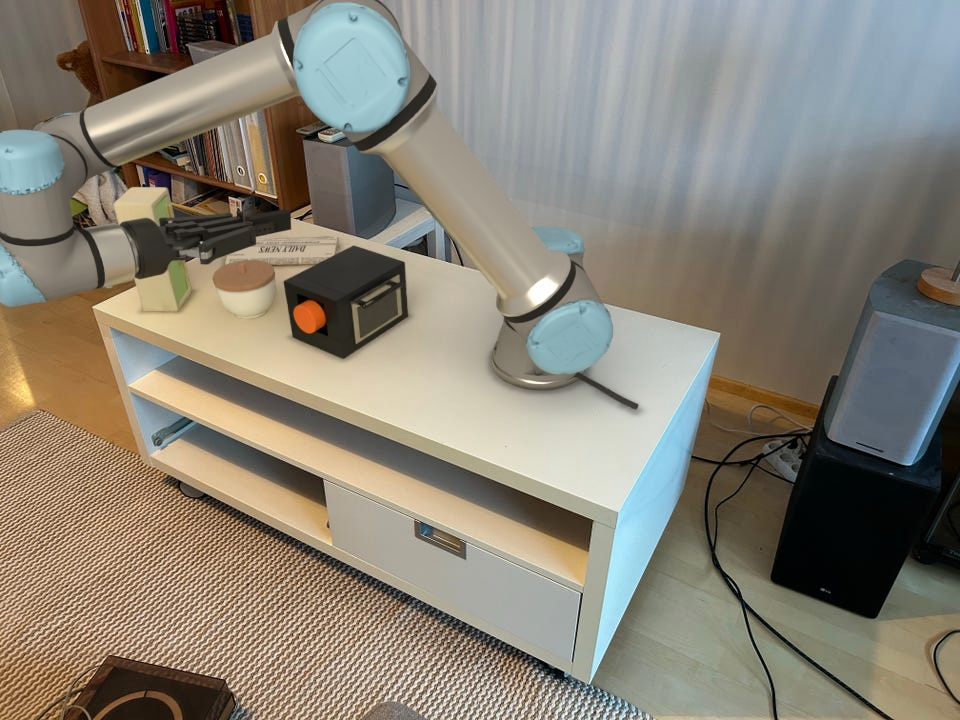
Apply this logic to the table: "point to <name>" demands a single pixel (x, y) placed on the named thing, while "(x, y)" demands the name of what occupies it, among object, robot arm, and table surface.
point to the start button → (309, 316)
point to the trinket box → (246, 287)
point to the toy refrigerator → (175, 282)
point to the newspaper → (288, 250)
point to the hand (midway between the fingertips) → (288, 219)
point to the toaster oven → (350, 299)
